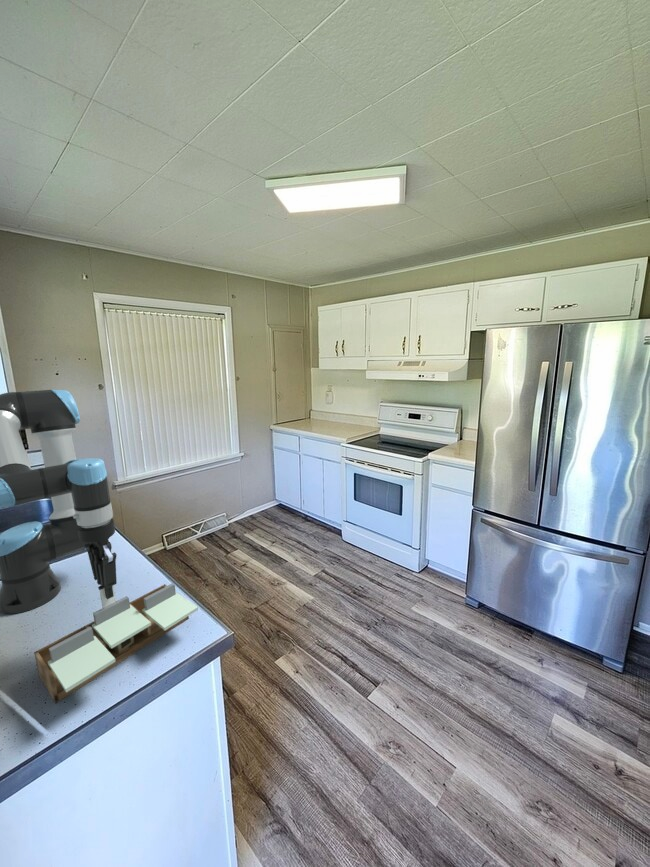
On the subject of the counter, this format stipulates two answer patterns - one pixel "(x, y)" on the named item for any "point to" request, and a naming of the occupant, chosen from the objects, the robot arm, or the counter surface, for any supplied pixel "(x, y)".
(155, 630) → the box
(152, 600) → the lid
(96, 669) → the lid
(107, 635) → the lid
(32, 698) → the counter surface
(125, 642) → the letter cube
